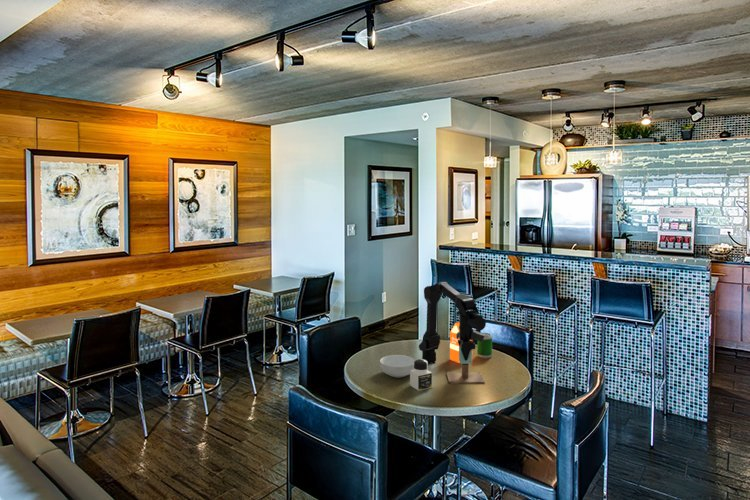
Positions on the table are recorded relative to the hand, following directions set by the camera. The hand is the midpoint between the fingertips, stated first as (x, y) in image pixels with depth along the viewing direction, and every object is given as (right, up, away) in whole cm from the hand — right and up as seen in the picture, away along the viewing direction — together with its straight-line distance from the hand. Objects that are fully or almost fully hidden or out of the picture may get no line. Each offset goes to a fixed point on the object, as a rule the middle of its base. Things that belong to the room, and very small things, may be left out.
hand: (465, 358), depth 229 cm
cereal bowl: (-31, -9, +7) cm, 33 cm away
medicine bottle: (-21, -11, -8) cm, 25 cm away
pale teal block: (0, -2, 0) cm, 2 cm away
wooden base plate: (0, -10, +1) cm, 10 cm away
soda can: (+16, -6, +32) cm, 37 cm away
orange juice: (+3, -7, +28) cm, 29 cm away
